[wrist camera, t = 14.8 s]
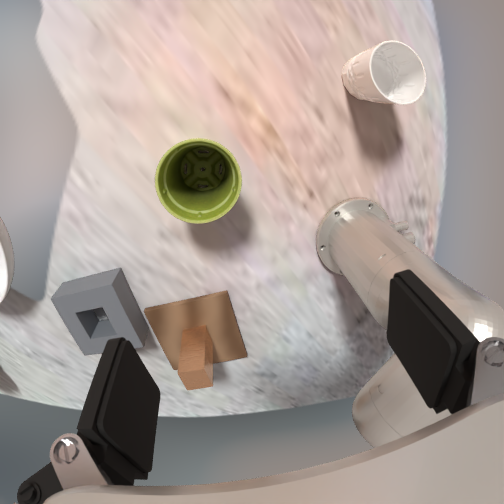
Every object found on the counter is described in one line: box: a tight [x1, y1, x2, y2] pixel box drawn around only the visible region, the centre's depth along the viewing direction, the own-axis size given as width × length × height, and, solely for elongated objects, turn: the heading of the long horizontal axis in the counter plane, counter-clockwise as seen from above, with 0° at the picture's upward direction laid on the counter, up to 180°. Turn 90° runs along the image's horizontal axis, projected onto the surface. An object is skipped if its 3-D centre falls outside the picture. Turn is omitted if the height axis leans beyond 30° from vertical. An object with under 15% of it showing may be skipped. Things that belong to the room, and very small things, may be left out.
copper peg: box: [178, 325, 213, 390], centre depth 46 cm, size 4×4×10 cm
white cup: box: [342, 41, 426, 105], centre depth 32 cm, size 8×8×10 cm
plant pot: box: [155, 138, 242, 224], centre depth 36 cm, size 9×9×9 cm
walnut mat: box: [144, 291, 247, 370], centre depth 51 cm, size 14×14×1 cm
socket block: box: [51, 268, 149, 355], centre depth 45 cm, size 12×12×5 cm
